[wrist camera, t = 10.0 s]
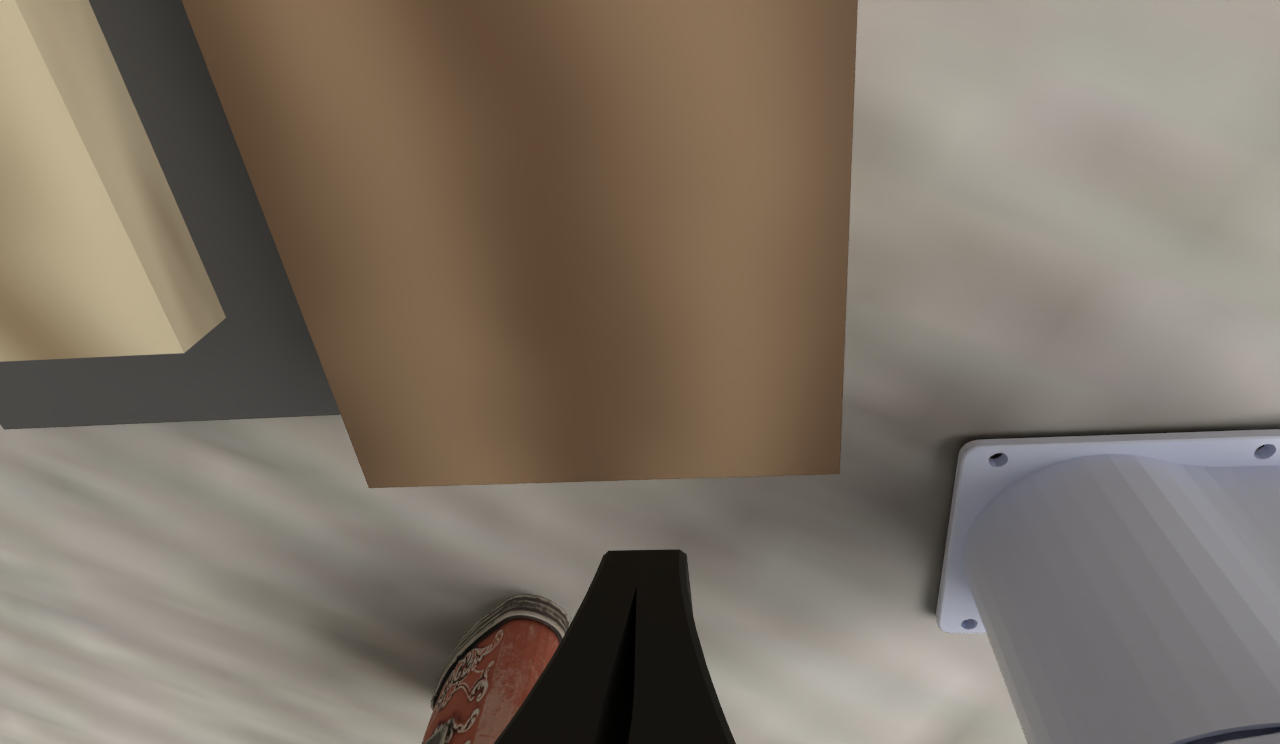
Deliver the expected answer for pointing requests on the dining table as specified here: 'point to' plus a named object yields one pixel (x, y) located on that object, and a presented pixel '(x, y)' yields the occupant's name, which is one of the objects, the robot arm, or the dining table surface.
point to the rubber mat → (228, 247)
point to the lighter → (494, 670)
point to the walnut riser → (557, 226)
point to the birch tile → (85, 203)
